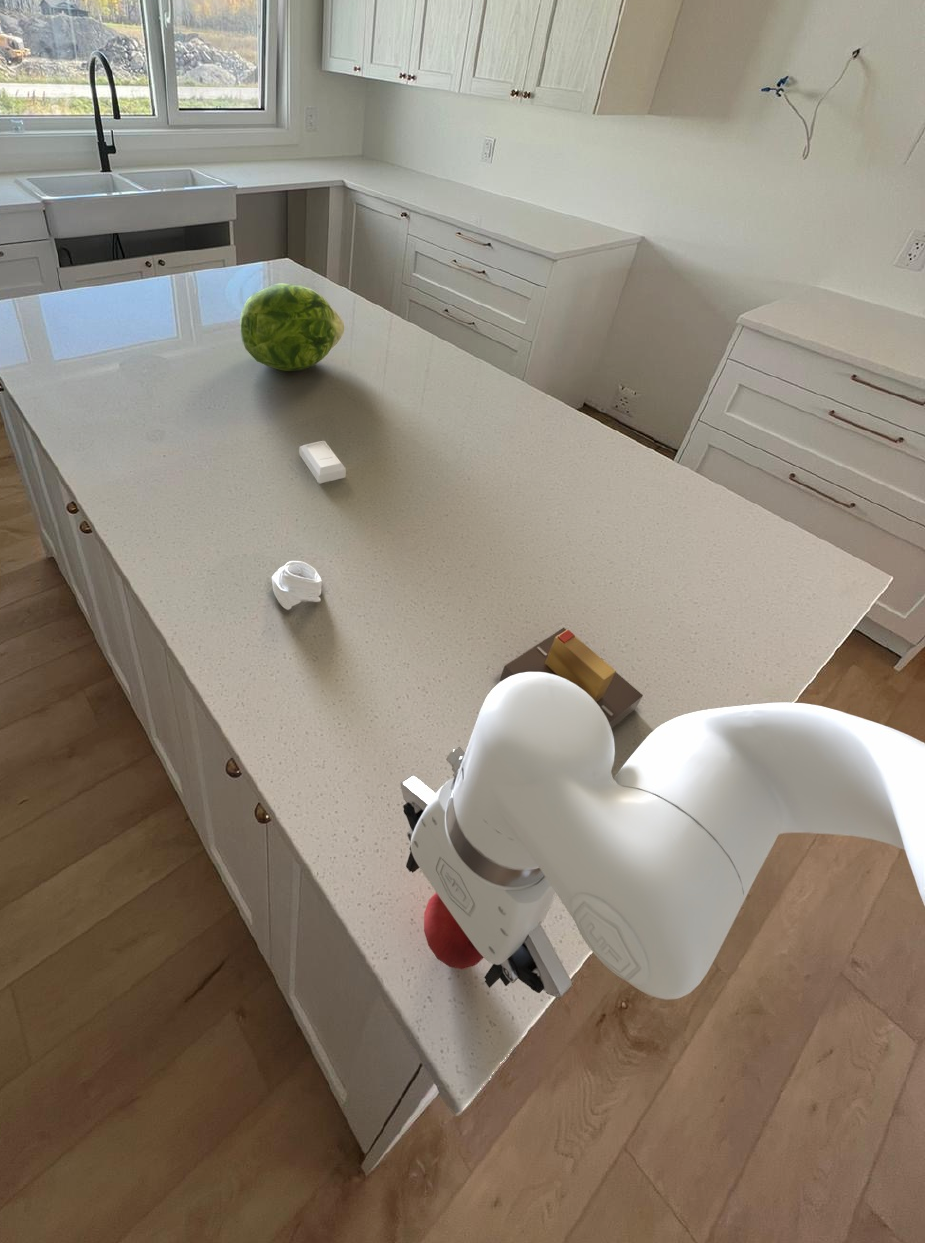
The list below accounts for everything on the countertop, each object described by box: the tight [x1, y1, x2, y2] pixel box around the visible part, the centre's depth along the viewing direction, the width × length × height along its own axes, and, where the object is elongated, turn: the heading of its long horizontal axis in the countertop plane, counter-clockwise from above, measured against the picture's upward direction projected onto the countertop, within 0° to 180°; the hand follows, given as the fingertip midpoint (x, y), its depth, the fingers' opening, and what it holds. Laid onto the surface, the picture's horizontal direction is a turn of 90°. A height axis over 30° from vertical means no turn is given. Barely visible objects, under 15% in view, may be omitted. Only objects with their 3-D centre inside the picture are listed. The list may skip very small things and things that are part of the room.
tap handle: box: [545, 629, 617, 702], centre depth 74 cm, size 7×2×5 cm, turn 36°
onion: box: [423, 892, 485, 970], centre depth 54 cm, size 6×6×8 cm
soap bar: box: [299, 440, 347, 484], centre depth 111 cm, size 5×9×3 cm, turn 26°
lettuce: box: [239, 282, 345, 372], centre depth 137 cm, size 19×23×18 cm
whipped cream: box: [271, 560, 323, 611], centre depth 86 cm, size 8×7×5 cm
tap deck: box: [499, 627, 644, 729], centre depth 76 cm, size 12×11×3 cm
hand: (458, 912), depth 53 cm, fingers open, 9 cm apart
